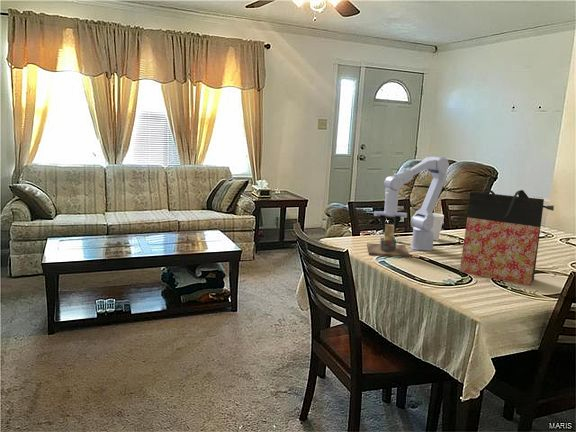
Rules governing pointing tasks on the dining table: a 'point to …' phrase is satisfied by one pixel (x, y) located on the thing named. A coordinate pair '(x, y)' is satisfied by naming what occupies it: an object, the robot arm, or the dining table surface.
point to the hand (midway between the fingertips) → (388, 232)
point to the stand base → (387, 249)
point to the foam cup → (437, 225)
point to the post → (388, 232)
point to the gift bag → (502, 236)
